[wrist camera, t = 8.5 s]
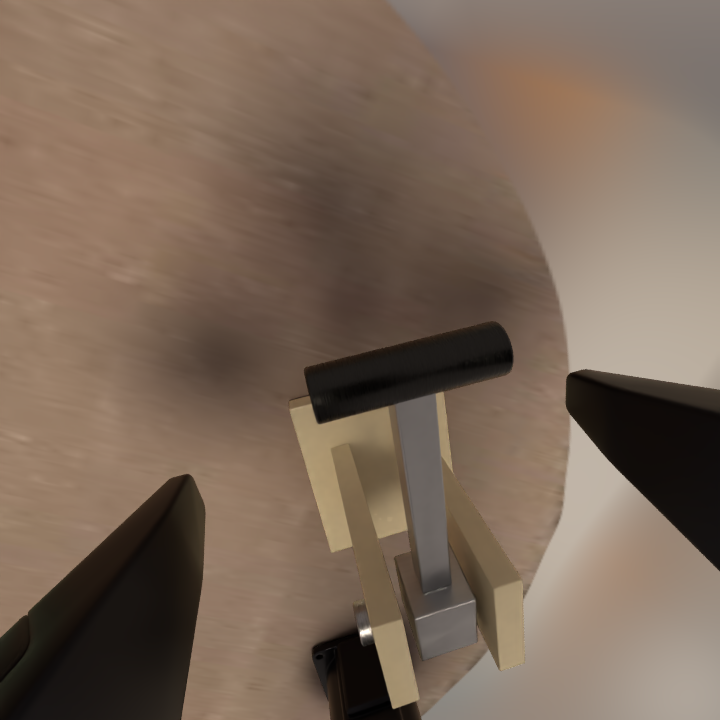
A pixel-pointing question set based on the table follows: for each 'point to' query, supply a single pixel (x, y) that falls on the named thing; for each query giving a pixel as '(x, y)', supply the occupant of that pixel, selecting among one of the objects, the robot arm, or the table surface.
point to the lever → (419, 459)
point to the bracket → (387, 517)
